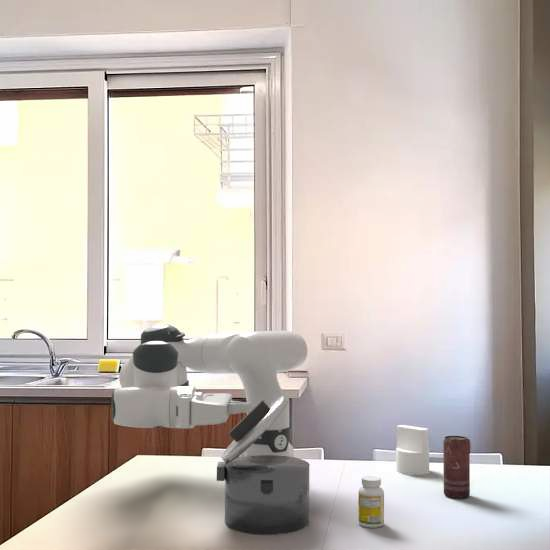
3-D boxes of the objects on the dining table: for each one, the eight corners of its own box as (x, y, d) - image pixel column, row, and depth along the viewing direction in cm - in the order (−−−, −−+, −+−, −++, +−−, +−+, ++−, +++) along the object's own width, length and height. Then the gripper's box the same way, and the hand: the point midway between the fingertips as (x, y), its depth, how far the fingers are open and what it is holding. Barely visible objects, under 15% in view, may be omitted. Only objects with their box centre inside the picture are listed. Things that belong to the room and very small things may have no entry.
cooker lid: (223, 472, 142) (209, 458, 143) (228, 452, 161) (216, 440, 161) (289, 407, 143) (275, 393, 143) (287, 395, 162) (275, 382, 162)
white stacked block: (435, 471, 196) (435, 427, 197) (416, 476, 190) (416, 431, 190) (408, 465, 203) (408, 423, 203) (389, 471, 196) (389, 427, 197)
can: (471, 500, 168) (471, 440, 168) (444, 498, 169) (443, 439, 169) (470, 493, 174) (469, 435, 174) (443, 491, 175) (443, 434, 175)
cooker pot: (212, 538, 140) (213, 477, 140) (221, 504, 163) (221, 452, 163) (312, 539, 140) (312, 478, 140) (306, 505, 163) (306, 452, 164)
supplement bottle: (375, 530, 145) (374, 482, 146) (353, 524, 149) (353, 478, 149) (389, 523, 150) (388, 477, 150) (367, 518, 153) (367, 473, 153)
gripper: (191, 414, 162) (252, 414, 162) (179, 430, 141) (249, 430, 141) (192, 386, 162) (252, 387, 162) (180, 398, 141) (249, 398, 141)
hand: (251, 407), depth 151 cm, fingers closed
